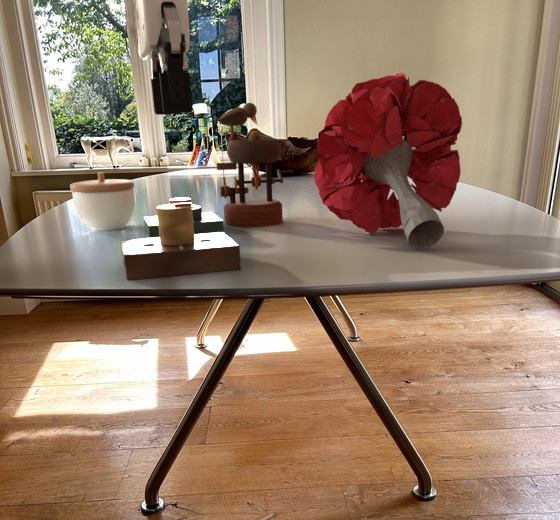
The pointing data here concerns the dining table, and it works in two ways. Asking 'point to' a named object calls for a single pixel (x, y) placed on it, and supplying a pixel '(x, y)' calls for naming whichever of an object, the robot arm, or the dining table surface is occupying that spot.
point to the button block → (201, 223)
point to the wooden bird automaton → (254, 152)
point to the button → (180, 200)
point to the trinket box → (104, 202)
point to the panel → (179, 256)
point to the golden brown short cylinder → (175, 224)
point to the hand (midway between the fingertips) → (172, 113)
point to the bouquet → (391, 157)
